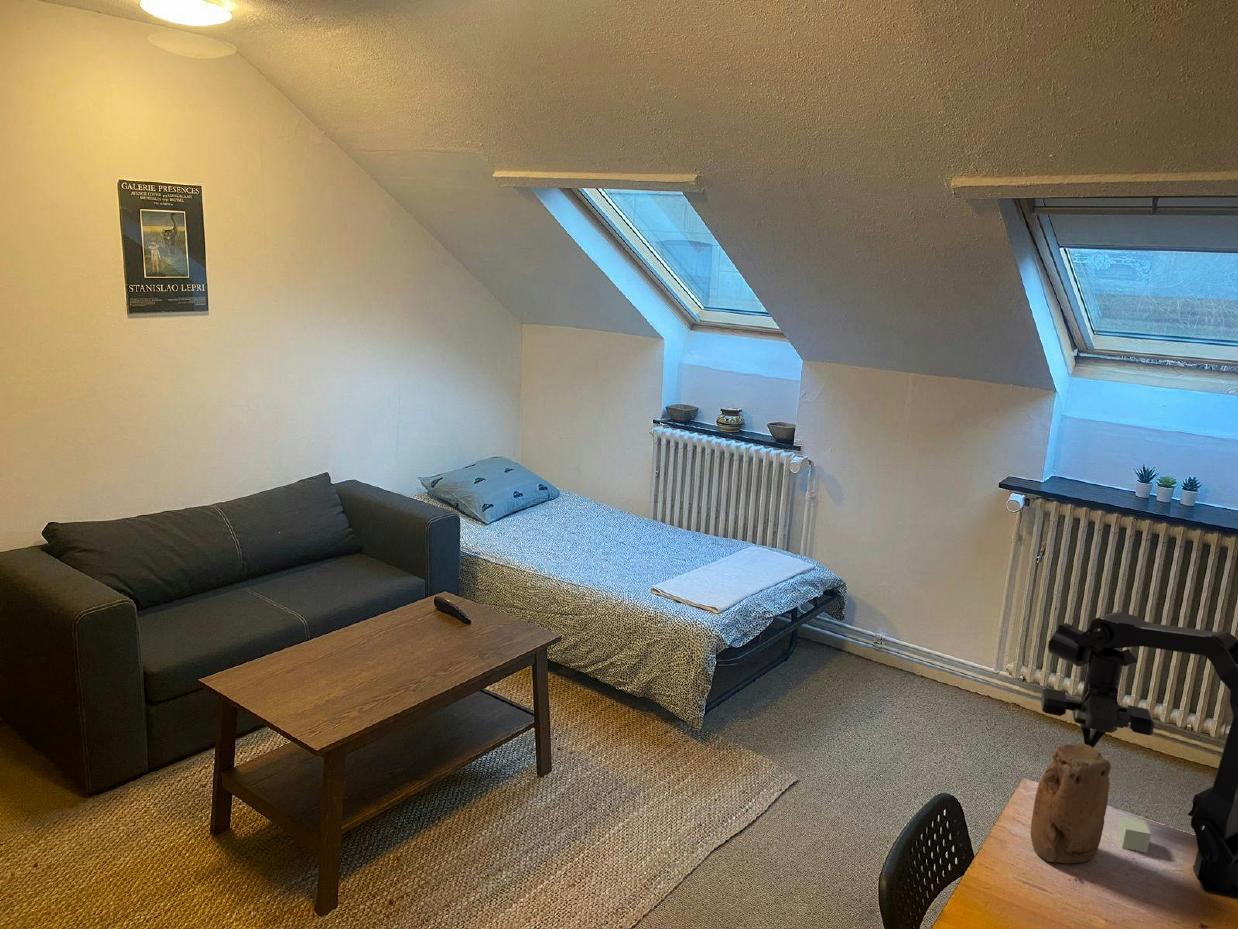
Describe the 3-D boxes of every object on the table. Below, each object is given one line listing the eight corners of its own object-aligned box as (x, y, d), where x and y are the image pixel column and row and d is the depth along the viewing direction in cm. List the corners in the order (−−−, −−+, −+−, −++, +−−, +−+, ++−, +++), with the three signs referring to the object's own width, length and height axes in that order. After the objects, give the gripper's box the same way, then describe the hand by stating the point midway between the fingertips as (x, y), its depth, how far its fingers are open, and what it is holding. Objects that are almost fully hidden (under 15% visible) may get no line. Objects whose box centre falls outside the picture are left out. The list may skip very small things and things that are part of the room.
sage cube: (1141, 839, 169) (1145, 820, 168) (1146, 853, 165) (1150, 834, 164) (1117, 835, 170) (1121, 816, 169) (1122, 848, 166) (1126, 829, 165)
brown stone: (1072, 836, 169) (1089, 739, 164) (1102, 863, 162) (1120, 762, 157) (1021, 843, 166) (1037, 745, 161) (1049, 871, 159) (1066, 769, 154)
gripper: (1052, 684, 168) (1037, 759, 172) (1167, 708, 162) (1148, 785, 166) (1048, 659, 178) (1034, 731, 182) (1156, 681, 172) (1139, 754, 176)
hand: (1087, 750), depth 177 cm, fingers closed
